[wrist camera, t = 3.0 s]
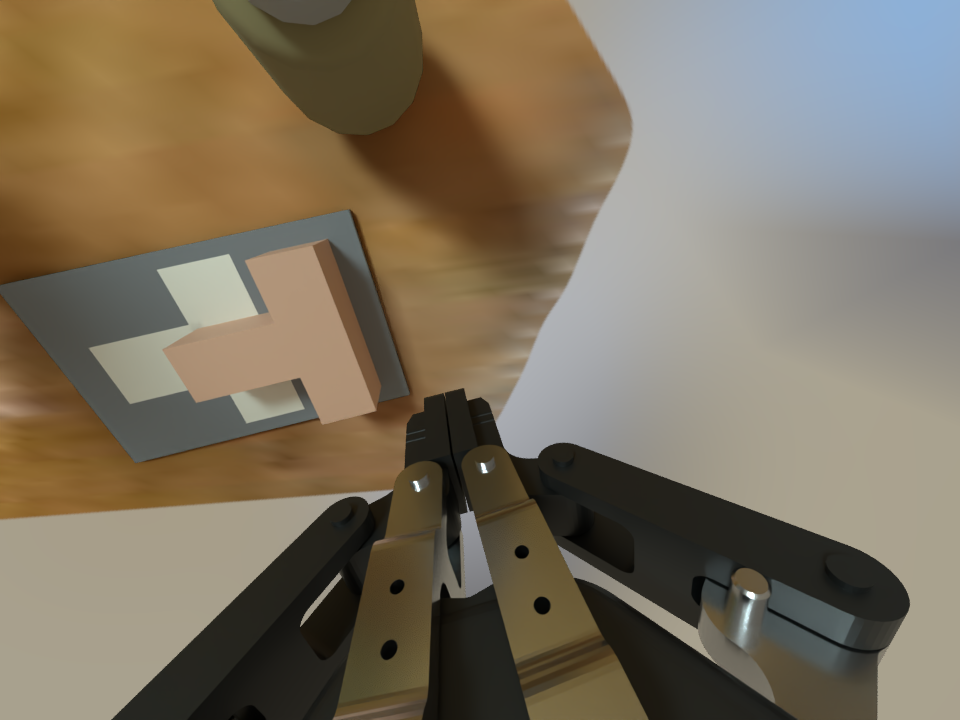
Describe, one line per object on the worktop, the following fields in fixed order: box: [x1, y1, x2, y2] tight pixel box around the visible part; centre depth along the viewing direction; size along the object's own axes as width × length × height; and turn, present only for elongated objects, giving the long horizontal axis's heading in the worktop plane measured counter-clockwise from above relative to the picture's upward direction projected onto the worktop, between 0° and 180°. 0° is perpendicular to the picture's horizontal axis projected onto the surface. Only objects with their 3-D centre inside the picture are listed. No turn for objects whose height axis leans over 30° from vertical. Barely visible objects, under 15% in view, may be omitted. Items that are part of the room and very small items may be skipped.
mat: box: [0, 209, 410, 463], centre depth 27 cm, size 15×23×1 cm, turn 101°
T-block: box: [162, 239, 381, 425], centre depth 25 cm, size 12×11×4 cm
